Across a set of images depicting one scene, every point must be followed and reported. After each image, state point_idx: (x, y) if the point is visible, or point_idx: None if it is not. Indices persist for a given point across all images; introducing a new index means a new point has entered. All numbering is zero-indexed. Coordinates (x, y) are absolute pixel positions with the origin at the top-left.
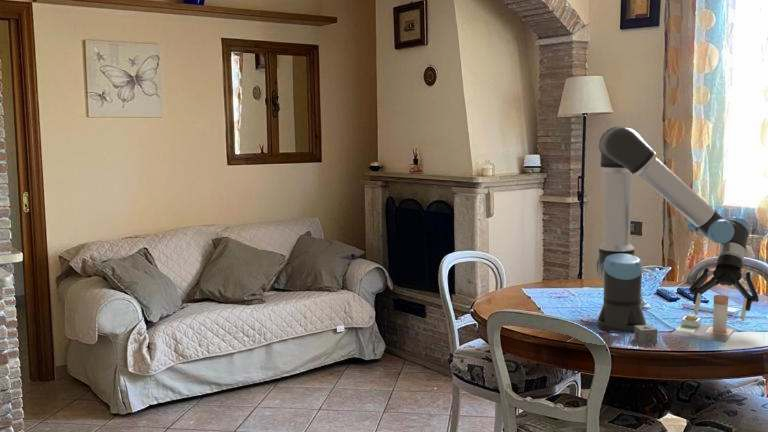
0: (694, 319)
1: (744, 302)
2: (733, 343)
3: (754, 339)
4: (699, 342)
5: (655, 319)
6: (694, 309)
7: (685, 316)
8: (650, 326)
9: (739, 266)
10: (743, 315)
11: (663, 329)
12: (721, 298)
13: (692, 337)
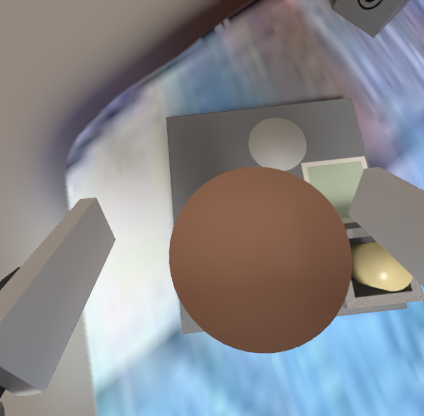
0: (356, 255)
1: (13, 291)
2: (151, 155)
3: None
4: (245, 103)
5: None
6: (380, 170)
7: (418, 291)
8: None
9: None
10: (77, 203)
11: (411, 176)
12: (226, 172)
13: (276, 108)
